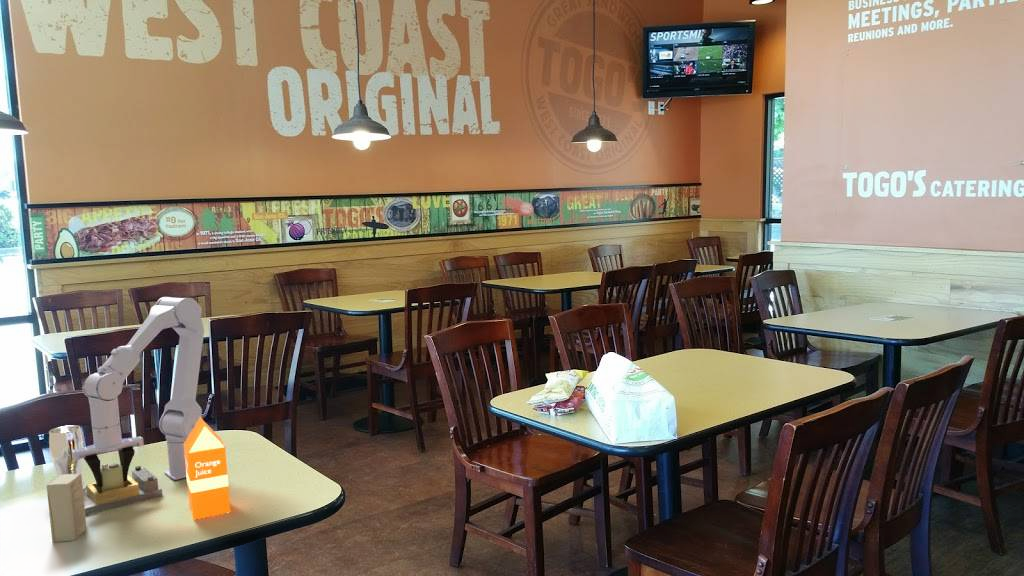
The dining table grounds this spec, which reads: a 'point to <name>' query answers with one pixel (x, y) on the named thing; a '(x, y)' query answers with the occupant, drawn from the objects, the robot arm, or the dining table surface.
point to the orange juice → (206, 472)
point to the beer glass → (66, 449)
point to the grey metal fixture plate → (122, 492)
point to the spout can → (111, 476)
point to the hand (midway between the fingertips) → (112, 483)
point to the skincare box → (66, 507)
